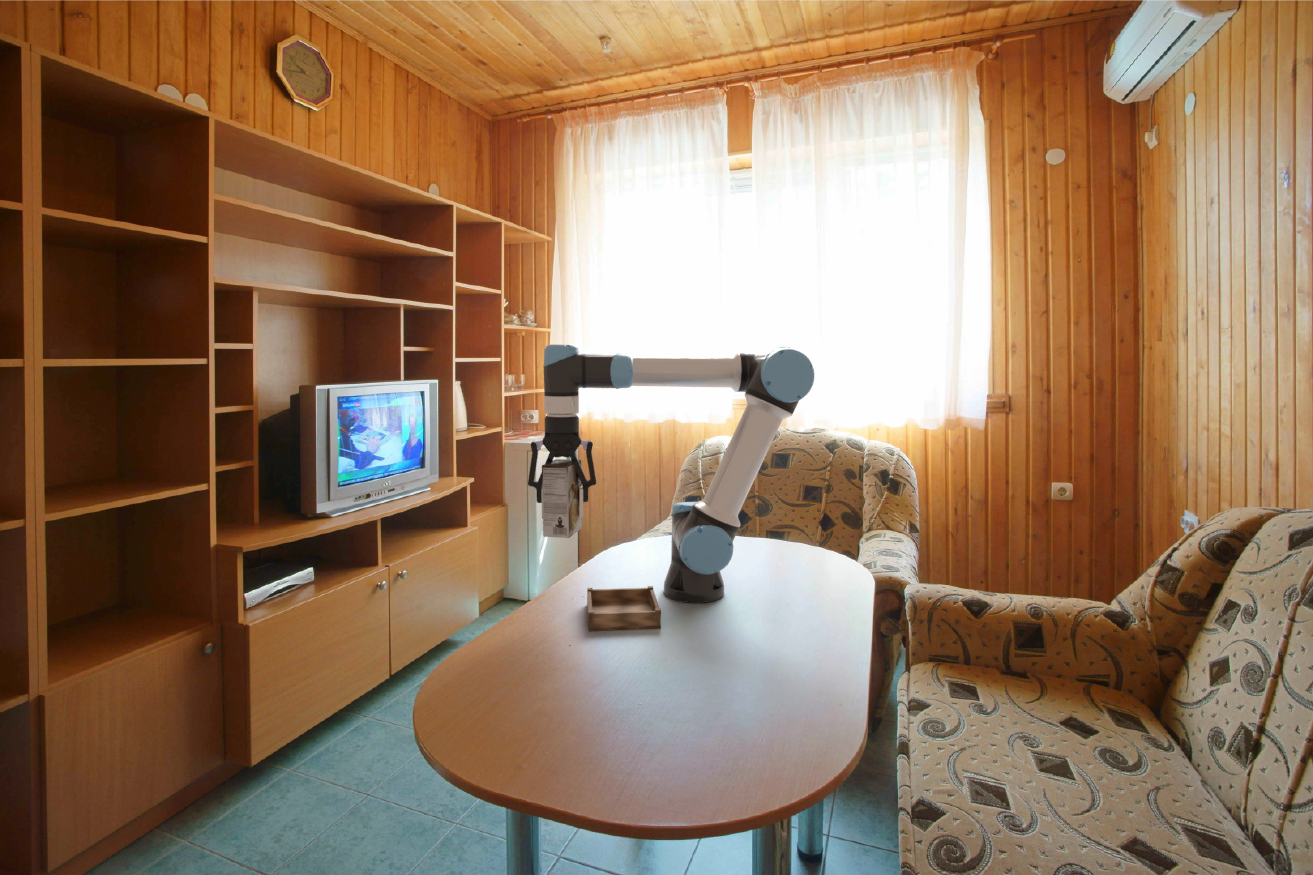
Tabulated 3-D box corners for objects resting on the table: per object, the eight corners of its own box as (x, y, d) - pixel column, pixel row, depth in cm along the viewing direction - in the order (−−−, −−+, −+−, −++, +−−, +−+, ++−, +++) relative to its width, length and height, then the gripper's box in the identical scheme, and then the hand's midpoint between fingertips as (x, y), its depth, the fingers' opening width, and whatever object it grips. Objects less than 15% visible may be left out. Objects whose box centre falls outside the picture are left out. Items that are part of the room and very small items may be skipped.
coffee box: (556, 526, 158) (555, 458, 156) (582, 528, 156) (582, 459, 155) (542, 537, 149) (541, 464, 147) (569, 538, 148) (569, 465, 146)
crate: (652, 602, 163) (652, 585, 163) (660, 628, 148) (660, 609, 147) (587, 604, 161) (587, 587, 161) (588, 631, 146) (588, 612, 145)
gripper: (607, 413, 154) (607, 511, 157) (515, 413, 152) (517, 513, 155) (609, 416, 147) (609, 519, 150) (512, 416, 145) (514, 521, 147)
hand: (562, 516), depth 152 cm, fingers closed on coffee box, 8 cm apart
